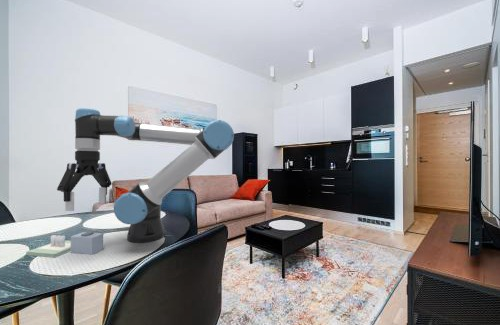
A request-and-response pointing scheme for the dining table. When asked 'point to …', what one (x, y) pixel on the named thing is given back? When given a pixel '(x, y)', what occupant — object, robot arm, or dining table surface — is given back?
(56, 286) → the dining table surface
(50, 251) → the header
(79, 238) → the plug
